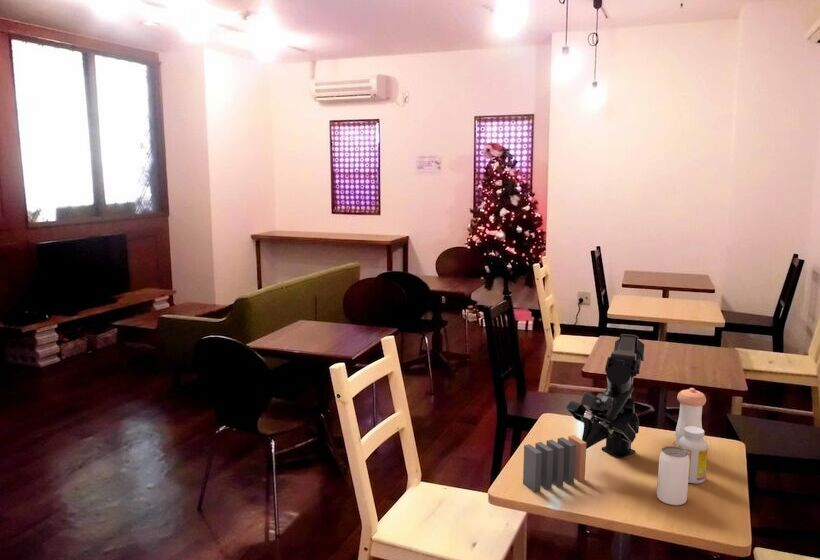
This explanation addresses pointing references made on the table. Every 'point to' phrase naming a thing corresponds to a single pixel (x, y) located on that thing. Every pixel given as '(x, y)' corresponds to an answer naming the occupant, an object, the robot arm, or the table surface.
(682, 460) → the can
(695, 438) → the supplement bottle
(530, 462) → the domino
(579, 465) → the domino
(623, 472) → the table surface
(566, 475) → the domino
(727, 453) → the table surface
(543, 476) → the domino
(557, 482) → the domino
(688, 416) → the salt shaker
